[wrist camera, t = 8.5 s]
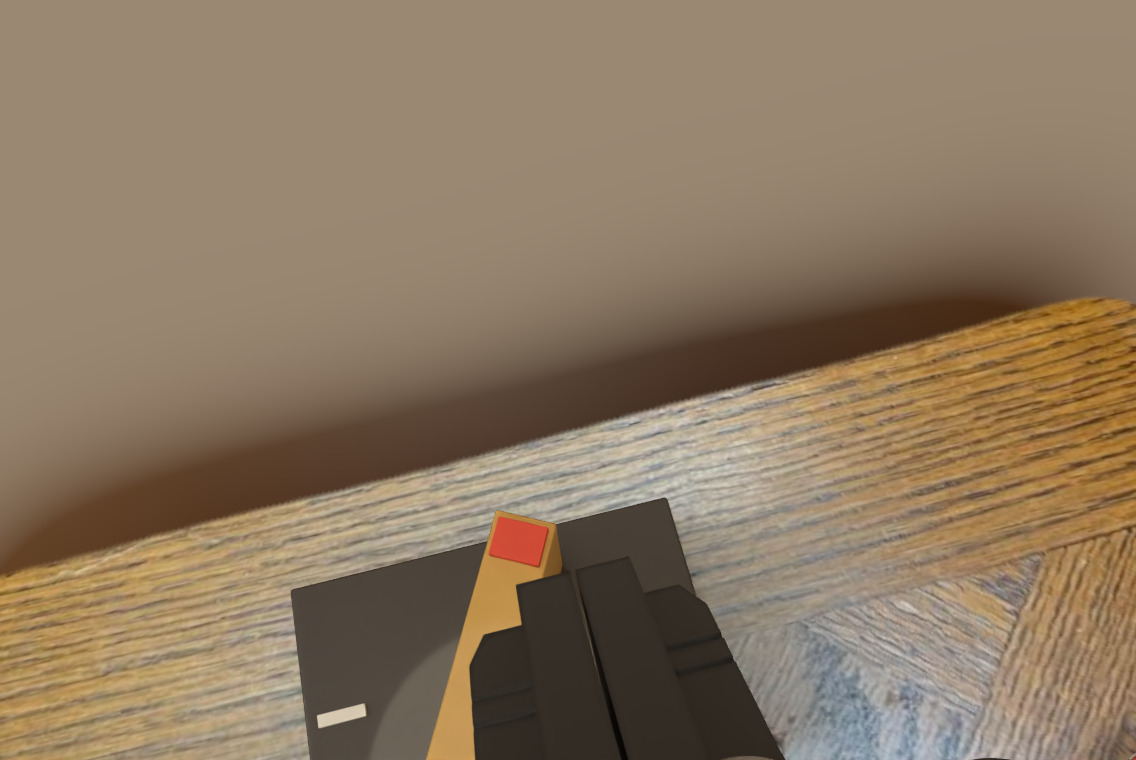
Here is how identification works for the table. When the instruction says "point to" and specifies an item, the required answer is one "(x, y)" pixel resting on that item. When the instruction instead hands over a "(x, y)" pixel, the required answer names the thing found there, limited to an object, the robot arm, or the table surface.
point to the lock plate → (433, 631)
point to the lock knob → (492, 617)
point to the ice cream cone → (1133, 757)
